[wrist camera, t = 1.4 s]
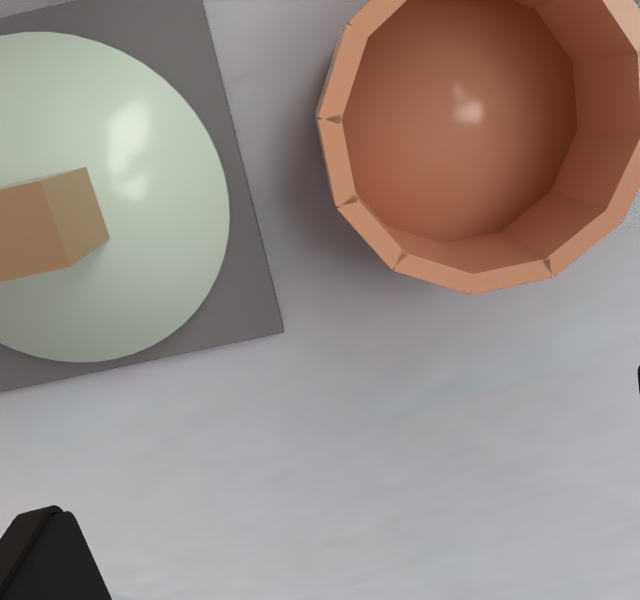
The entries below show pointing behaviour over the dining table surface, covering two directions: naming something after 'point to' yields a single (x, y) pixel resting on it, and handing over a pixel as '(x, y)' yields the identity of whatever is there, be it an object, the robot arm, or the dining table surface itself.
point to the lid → (101, 201)
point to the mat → (212, 107)
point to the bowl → (483, 133)
